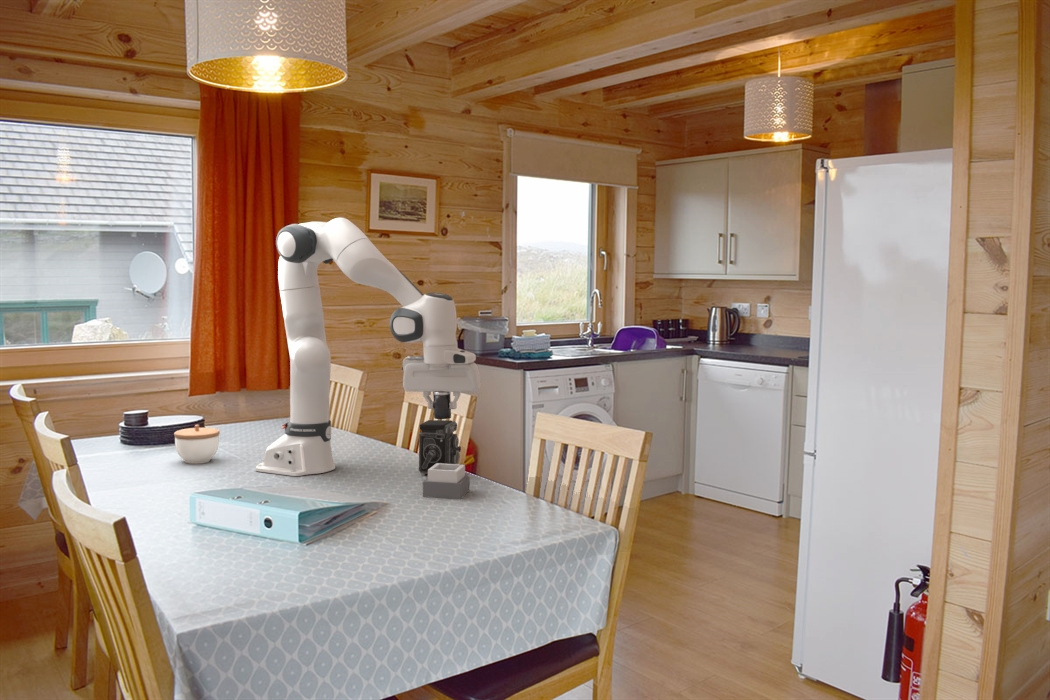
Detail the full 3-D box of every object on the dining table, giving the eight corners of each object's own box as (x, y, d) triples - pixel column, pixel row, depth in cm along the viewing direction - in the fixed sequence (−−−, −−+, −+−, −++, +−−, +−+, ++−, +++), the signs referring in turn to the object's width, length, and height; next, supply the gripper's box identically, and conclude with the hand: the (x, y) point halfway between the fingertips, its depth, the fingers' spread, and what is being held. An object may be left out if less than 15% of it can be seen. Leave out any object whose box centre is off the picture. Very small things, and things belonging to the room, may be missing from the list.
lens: (431, 419, 206) (430, 392, 206) (436, 415, 211) (435, 389, 210) (448, 419, 205) (447, 392, 205) (453, 416, 210) (452, 389, 209)
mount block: (422, 496, 206) (422, 470, 205) (433, 488, 215) (433, 462, 214) (460, 499, 204) (460, 472, 204) (469, 490, 213) (469, 464, 212)
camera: (452, 478, 225) (453, 426, 224) (417, 476, 228) (417, 424, 226) (462, 470, 236) (463, 419, 234) (428, 468, 238) (429, 418, 236)
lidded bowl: (165, 463, 238) (164, 426, 237) (197, 455, 250) (196, 420, 249) (198, 467, 233) (197, 430, 232) (229, 459, 245) (228, 423, 244)
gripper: (398, 357, 205) (400, 410, 207) (475, 357, 201) (476, 411, 203) (406, 354, 212) (408, 406, 213) (481, 354, 208) (482, 407, 209)
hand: (442, 408), depth 208 cm, fingers closed on lens, 4 cm apart
